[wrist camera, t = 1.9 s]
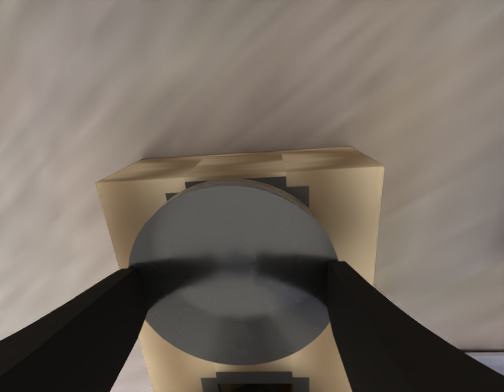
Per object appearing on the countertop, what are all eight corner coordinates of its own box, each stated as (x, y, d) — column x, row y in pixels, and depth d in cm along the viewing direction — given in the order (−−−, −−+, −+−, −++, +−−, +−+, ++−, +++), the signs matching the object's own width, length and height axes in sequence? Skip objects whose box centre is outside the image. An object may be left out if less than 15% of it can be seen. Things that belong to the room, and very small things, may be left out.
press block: (350, 146, 16) (384, 166, 12) (339, 373, 23) (358, 444, 18) (141, 159, 17) (95, 182, 13) (187, 373, 24) (167, 442, 19)
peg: (319, 152, 13) (346, 180, 9) (318, 289, 16) (337, 364, 11) (157, 162, 14) (104, 193, 9) (182, 293, 16) (151, 366, 12)
